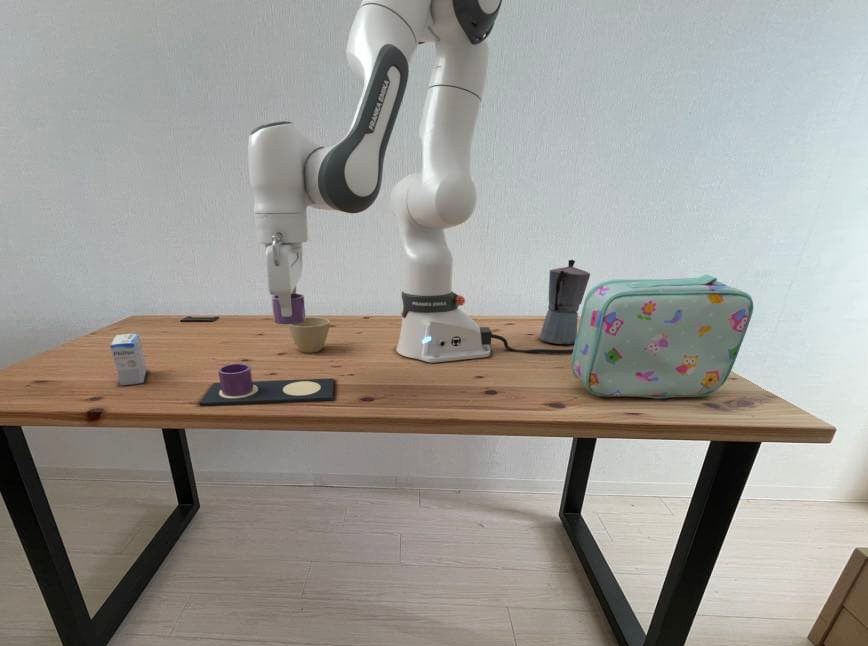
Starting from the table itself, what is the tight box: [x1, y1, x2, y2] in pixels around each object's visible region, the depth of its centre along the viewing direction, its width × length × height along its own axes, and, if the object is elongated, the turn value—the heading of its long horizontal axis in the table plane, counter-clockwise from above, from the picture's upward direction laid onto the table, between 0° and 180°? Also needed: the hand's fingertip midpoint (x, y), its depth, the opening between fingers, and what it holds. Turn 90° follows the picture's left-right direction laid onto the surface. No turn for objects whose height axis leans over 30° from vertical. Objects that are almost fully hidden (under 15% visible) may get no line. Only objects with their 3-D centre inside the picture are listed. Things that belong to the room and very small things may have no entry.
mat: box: [199, 377, 335, 407], centre depth 88 cm, size 24×10×1 cm, turn 94°
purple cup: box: [271, 293, 307, 325], centre depth 84 cm, size 6×6×4 cm
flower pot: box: [287, 316, 331, 354], centre depth 111 cm, size 10×10×7 cm
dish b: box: [217, 363, 254, 396], centre depth 86 cm, size 6×6×4 cm
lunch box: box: [570, 274, 754, 400], centre depth 82 cm, size 27×10×21 cm, turn 90°
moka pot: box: [539, 259, 591, 345], centre depth 113 cm, size 10×15×20 cm, turn 148°
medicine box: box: [109, 333, 147, 386], centre depth 94 cm, size 8×4×9 cm, turn 21°
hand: (289, 311), depth 84 cm, fingers closed on purple cup, 6 cm apart
